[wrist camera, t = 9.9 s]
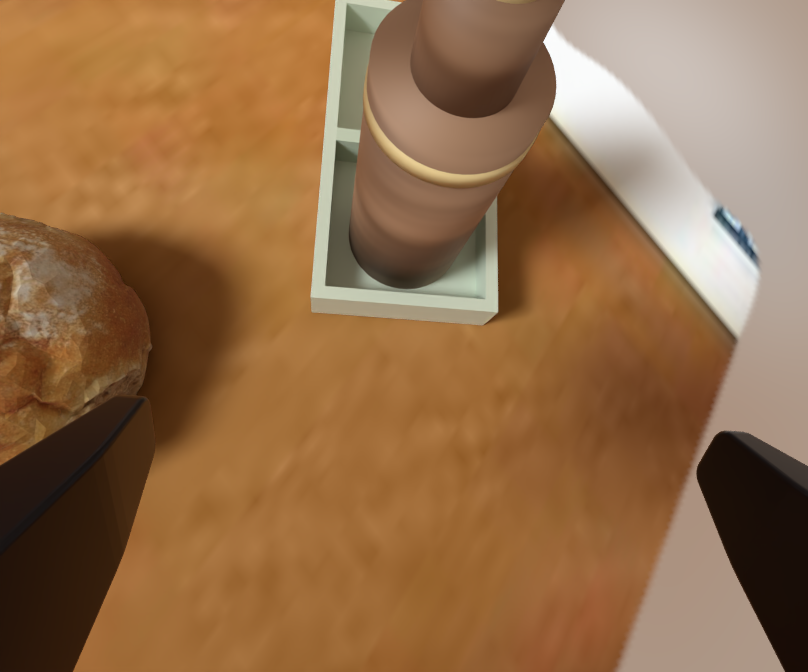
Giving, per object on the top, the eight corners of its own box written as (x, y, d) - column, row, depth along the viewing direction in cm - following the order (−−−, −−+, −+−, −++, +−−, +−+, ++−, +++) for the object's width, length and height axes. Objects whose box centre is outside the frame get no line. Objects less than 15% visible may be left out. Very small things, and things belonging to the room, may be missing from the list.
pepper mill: (477, 265, 23) (701, -18, 9) (376, 307, 22) (467, 52, 8) (429, 171, 24) (572, -216, 10) (328, 207, 22) (340, -178, 9)
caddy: (483, 325, 23) (498, 312, 21) (311, 312, 22) (310, 297, 20) (482, 50, 26) (495, 17, 24) (335, 27, 25) (336, -8, 23)
